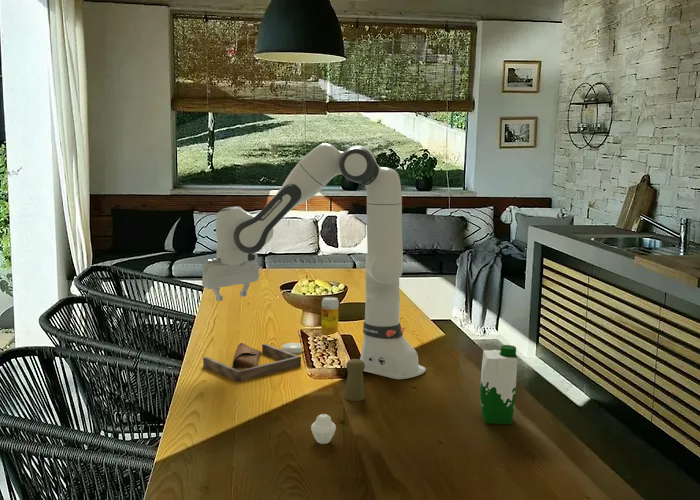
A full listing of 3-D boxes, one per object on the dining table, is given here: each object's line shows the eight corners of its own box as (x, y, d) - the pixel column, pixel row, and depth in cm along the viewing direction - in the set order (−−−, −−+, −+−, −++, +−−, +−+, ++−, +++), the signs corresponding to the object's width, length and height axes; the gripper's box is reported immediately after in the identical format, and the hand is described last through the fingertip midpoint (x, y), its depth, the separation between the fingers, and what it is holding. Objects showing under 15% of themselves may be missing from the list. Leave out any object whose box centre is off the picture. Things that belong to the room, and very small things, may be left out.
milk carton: (516, 425, 197) (520, 352, 194) (481, 424, 197) (485, 351, 194) (510, 413, 205) (514, 342, 202) (476, 412, 206) (480, 341, 202)
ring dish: (309, 350, 258) (310, 346, 257) (291, 355, 252) (291, 350, 252) (295, 345, 263) (295, 341, 263) (277, 349, 258) (277, 345, 258)
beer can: (318, 339, 271) (319, 299, 269) (325, 335, 277) (326, 295, 274) (333, 341, 269) (334, 301, 267) (340, 337, 275) (341, 297, 272)
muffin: (315, 448, 180) (316, 420, 179) (307, 438, 186) (307, 411, 185) (339, 444, 183) (340, 416, 181) (330, 434, 188) (330, 408, 187)
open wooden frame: (300, 365, 241) (300, 356, 241) (238, 381, 225) (238, 372, 224) (264, 352, 255) (265, 343, 254) (203, 366, 238) (203, 357, 238)
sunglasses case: (259, 368, 238) (249, 350, 237) (240, 379, 238) (229, 361, 237) (262, 351, 255) (252, 335, 254) (244, 361, 256) (234, 345, 254)
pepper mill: (350, 402, 211) (351, 364, 209) (340, 395, 216) (341, 358, 214) (369, 399, 213) (370, 361, 212) (359, 392, 219) (360, 355, 217)
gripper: (208, 261, 234) (209, 305, 236) (261, 254, 247) (262, 295, 250) (197, 259, 238) (198, 301, 240) (250, 252, 252) (251, 292, 254)
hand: (231, 298), depth 245 cm, fingers open, 8 cm apart
